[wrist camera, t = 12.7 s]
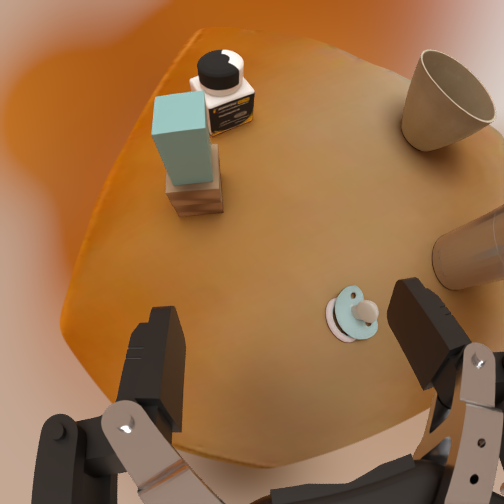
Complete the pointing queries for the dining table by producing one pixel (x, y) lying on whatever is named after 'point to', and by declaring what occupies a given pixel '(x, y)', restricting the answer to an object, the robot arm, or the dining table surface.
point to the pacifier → (352, 315)
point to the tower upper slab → (197, 187)
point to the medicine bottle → (224, 90)
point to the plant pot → (444, 103)
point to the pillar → (183, 137)
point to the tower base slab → (200, 208)
